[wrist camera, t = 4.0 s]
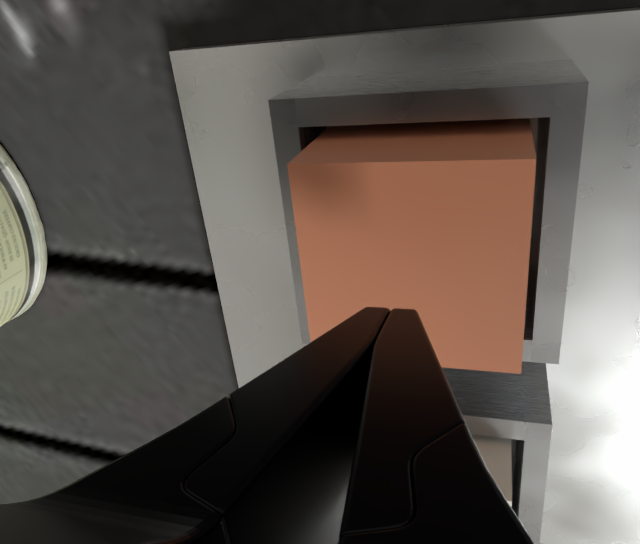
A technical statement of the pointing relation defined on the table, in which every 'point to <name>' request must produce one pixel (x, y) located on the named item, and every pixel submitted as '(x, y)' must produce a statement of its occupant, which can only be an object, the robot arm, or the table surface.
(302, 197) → the rust key
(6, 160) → the coffee can
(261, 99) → the key panel
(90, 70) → the table surface
